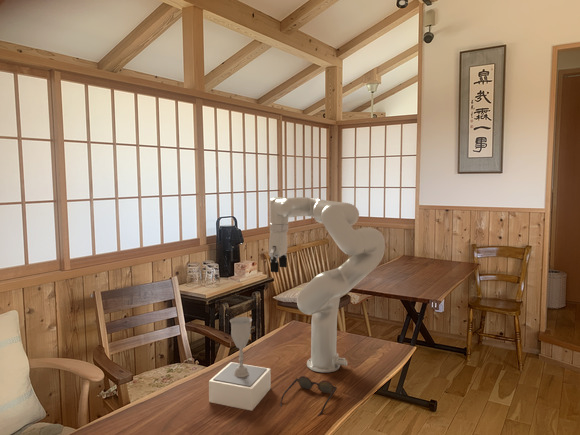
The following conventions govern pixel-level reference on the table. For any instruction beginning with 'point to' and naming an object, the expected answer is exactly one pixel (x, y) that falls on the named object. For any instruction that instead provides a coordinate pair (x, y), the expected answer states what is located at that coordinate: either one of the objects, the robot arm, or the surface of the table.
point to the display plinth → (240, 387)
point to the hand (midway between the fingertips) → (278, 269)
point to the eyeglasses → (307, 384)
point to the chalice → (240, 340)
